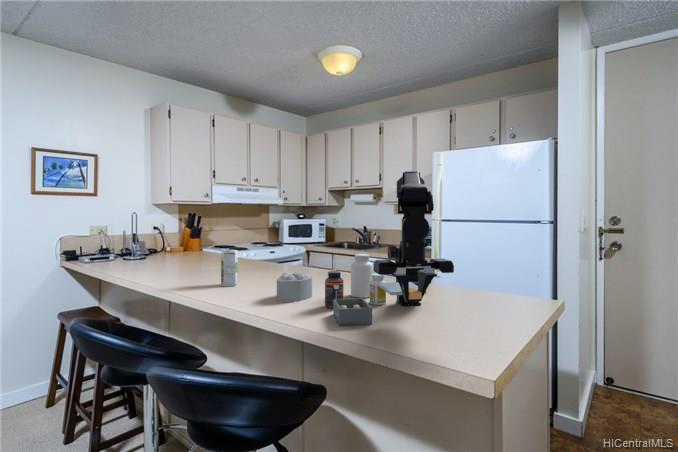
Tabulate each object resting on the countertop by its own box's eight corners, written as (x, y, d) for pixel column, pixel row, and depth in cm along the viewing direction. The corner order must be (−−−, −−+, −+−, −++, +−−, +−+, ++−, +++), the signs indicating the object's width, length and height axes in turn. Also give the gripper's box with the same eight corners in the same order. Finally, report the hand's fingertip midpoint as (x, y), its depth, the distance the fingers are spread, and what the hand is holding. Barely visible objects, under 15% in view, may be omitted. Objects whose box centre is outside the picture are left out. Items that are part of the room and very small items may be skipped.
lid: (410, 284, 102) (410, 279, 101) (434, 298, 86) (434, 291, 86) (378, 285, 100) (378, 280, 100) (396, 299, 84) (396, 293, 84)
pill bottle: (376, 294, 130) (376, 254, 130) (366, 299, 124) (366, 256, 123) (357, 292, 135) (357, 252, 134) (346, 296, 128) (346, 255, 127)
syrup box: (223, 283, 150) (223, 249, 150) (238, 283, 151) (237, 249, 150) (220, 286, 145) (220, 251, 144) (235, 286, 145) (235, 251, 145)
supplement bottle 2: (387, 301, 120) (387, 273, 120) (384, 305, 115) (384, 276, 115) (371, 300, 122) (371, 272, 122) (367, 304, 117) (368, 275, 117)
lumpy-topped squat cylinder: (316, 296, 128) (316, 272, 128) (290, 304, 118) (290, 278, 117) (294, 292, 134) (294, 269, 134) (269, 299, 124) (269, 274, 124)
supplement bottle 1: (341, 309, 111) (341, 273, 110) (323, 308, 112) (322, 272, 112) (345, 304, 117) (345, 270, 116) (327, 303, 118) (327, 269, 117)
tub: (362, 312, 107) (363, 298, 107) (372, 324, 96) (372, 307, 96) (333, 314, 106) (333, 299, 106) (339, 326, 95) (339, 309, 95)
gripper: (435, 235, 96) (434, 292, 96) (368, 235, 93) (367, 295, 93) (455, 238, 85) (454, 303, 85) (379, 239, 82) (379, 306, 82)
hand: (412, 301), depth 87 cm, fingers closed on lid, 3 cm apart
